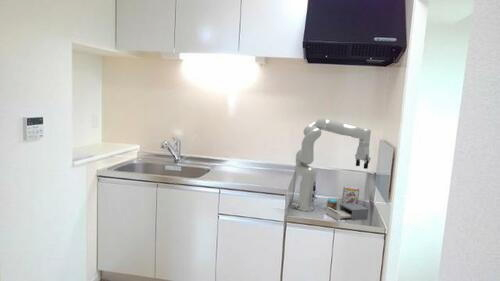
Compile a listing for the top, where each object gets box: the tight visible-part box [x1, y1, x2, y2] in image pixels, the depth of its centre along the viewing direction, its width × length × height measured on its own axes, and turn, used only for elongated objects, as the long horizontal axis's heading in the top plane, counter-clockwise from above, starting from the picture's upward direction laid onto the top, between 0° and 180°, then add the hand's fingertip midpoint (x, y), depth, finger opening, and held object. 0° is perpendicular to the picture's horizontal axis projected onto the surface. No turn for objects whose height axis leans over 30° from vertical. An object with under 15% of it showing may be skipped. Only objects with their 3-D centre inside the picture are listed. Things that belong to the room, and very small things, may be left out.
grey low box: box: [339, 203, 369, 221], centre depth 230 cm, size 13×14×7 cm
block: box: [326, 200, 338, 211], centre depth 241 cm, size 5×5×6 cm
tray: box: [326, 206, 351, 221], centre depth 226 cm, size 14×14×5 cm
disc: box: [327, 197, 338, 204], centre depth 241 cm, size 7×7×2 cm
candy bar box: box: [341, 185, 360, 204], centre depth 245 cm, size 11×5×16 cm, turn 77°
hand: (361, 167), depth 249 cm, fingers open, 9 cm apart
